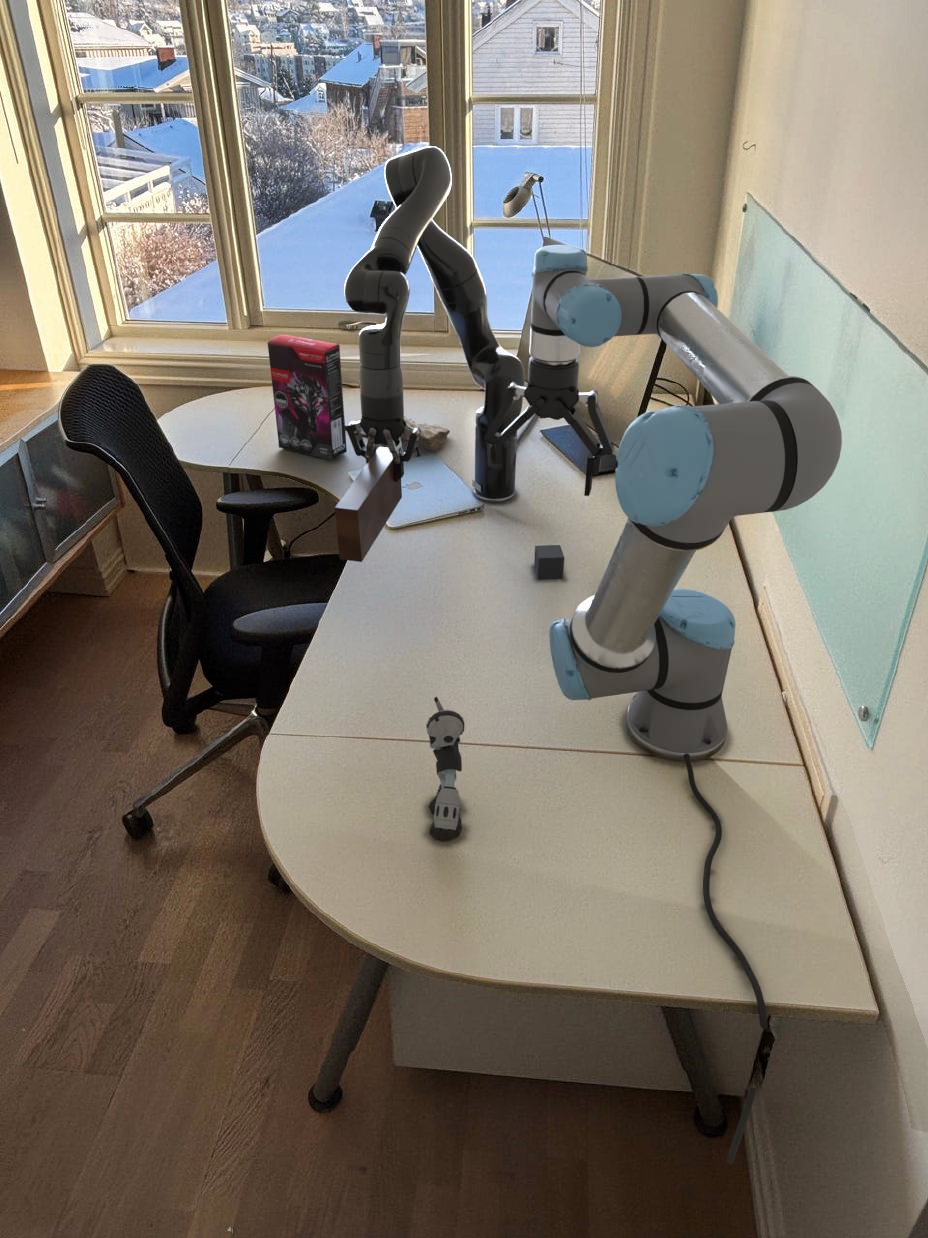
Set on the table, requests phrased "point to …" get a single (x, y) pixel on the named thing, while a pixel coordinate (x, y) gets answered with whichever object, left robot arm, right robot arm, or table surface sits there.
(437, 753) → the robot
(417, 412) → the table surface
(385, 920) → the table surface
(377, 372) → the left robot arm
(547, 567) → the grey block
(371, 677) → the table surface
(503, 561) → the table surface
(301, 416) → the graphics card box
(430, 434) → the stone
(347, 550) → the beam
